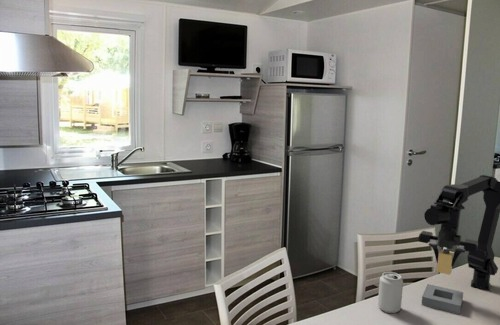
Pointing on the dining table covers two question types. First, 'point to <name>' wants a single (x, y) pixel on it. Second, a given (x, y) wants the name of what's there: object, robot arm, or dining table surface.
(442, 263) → the plug
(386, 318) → the dining table surface
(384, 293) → the can
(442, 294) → the socket
